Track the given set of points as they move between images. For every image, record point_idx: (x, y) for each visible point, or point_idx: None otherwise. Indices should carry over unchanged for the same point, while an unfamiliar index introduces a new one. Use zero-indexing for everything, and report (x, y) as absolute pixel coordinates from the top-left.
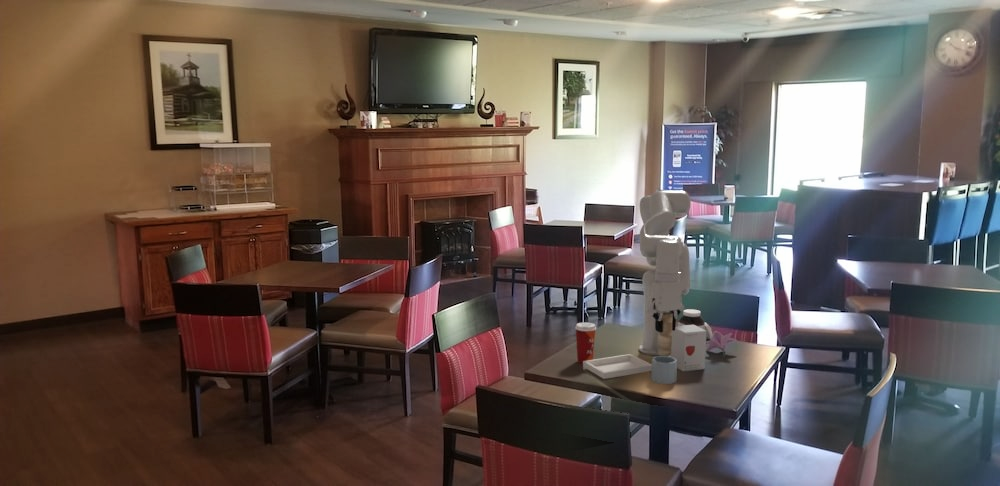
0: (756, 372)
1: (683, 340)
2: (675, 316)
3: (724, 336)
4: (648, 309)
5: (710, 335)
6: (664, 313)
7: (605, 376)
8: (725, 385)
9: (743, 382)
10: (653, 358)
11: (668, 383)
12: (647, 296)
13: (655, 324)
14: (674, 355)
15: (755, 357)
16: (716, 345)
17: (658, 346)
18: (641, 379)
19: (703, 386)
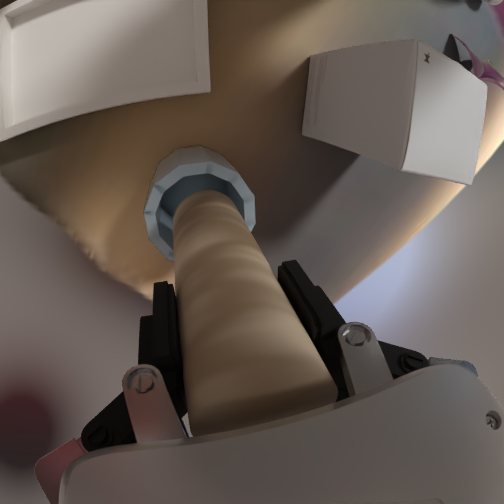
0: (442, 203)
1: (374, 153)
2: (339, 387)
3: (501, 85)
4: (46, 491)
5: (488, 2)
6: (257, 415)
7: (9, 138)
8: (339, 255)
9: (384, 248)
10: (158, 190)
11: None
12: None
13: (139, 340)
14: (329, 79)
15: (488, 129)
16: (474, 65)
17: (173, 237)
18: (133, 138)
19: (287, 248)
